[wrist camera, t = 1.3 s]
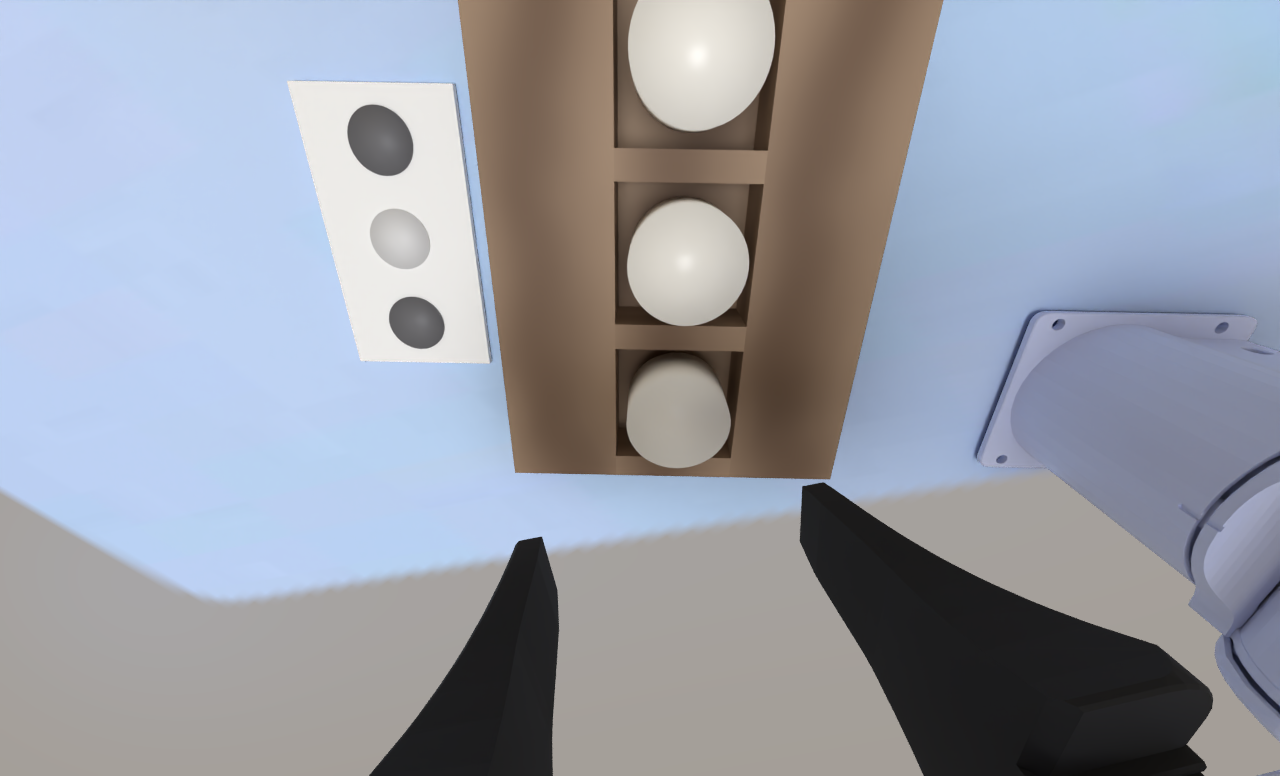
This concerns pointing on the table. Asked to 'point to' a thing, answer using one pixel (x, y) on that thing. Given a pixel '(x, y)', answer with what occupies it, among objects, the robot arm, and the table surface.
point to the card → (397, 216)
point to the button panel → (694, 167)
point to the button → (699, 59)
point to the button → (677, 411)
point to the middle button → (687, 261)
